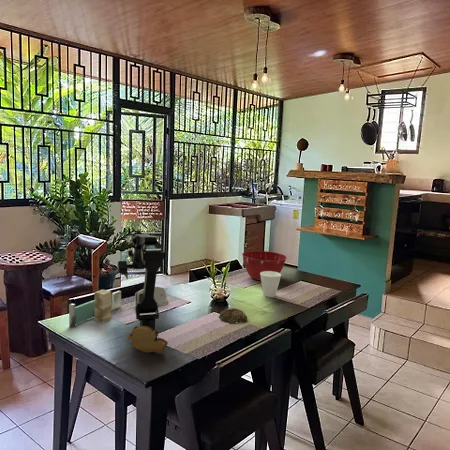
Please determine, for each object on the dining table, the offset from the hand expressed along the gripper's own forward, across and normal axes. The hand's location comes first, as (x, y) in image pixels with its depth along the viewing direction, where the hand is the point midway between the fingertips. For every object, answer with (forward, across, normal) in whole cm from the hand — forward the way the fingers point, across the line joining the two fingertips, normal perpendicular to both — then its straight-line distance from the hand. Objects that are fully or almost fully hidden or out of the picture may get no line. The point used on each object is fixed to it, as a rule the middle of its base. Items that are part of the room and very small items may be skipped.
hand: (136, 277), depth 199 cm
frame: (+9, +19, +14) cm, 25 cm away
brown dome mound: (-1, -41, +30) cm, 51 cm away
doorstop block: (+6, +17, +18) cm, 26 cm away
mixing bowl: (+31, -86, -20) cm, 94 cm away
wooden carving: (-13, +3, +49) cm, 51 cm away
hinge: (+14, -8, +6) cm, 17 cm away
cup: (+14, -74, +7) cm, 76 cm away
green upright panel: (+7, +20, +16) cm, 26 cm away
